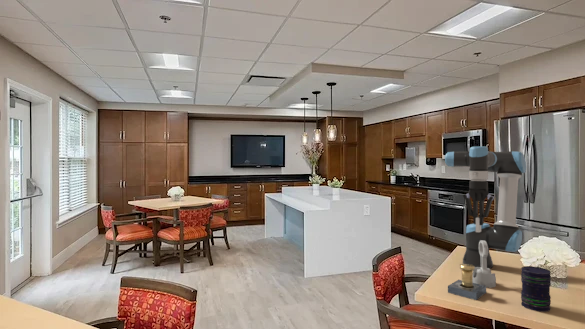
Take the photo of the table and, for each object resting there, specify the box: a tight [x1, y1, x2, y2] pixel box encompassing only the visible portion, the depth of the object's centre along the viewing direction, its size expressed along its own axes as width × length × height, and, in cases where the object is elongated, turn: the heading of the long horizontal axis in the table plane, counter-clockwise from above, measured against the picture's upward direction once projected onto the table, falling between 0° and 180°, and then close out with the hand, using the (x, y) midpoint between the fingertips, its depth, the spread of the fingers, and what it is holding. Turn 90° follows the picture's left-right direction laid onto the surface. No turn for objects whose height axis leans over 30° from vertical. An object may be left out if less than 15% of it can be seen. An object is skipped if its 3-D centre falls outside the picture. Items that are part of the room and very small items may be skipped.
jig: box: [447, 279, 487, 301], centre depth 159 cm, size 12×12×3 cm
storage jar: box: [520, 265, 552, 313], centre depth 143 cm, size 10×10×15 cm
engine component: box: [473, 240, 497, 289], centre depth 170 cm, size 11×20×10 cm
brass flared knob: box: [459, 263, 475, 288], centre depth 159 cm, size 6×6×12 cm
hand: (478, 231), depth 163 cm, fingers closed
